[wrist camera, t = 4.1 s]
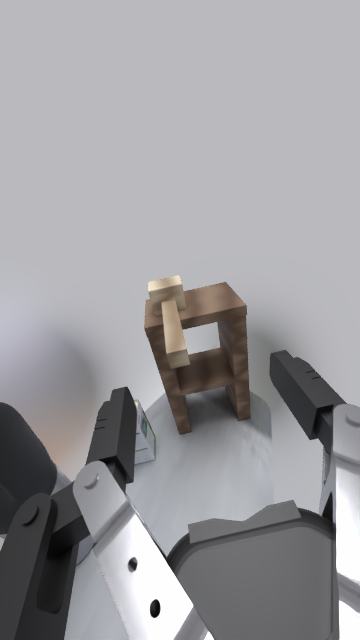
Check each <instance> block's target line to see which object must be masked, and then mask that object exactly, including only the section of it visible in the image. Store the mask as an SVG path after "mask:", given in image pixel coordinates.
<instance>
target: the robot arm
mask: <svg viewBox="0 0 360 640" xmlns="http://www.w3.org/2000/svg"><path fill="white" fill-rule="evenodd" d="M270 378H271V381H272V383H273V385H274V386H275V388H276V389H277V390H278V392H279V393H280V395H281V397H282V398H283V400H284V401H285V403H286V404H287V406H288V407H289V409H290V411H291V412H292V414H293V415H294V417H295V418H296V419H297V421H298V423H299V424H300V426H301V427H302V428H303V430H304V432H305V433H306V435H307V436H308V438H309V439H310V440H312V439H317V438H318V439H319V440H320V442H321V443H322V444H323V446H324V447H323V471H322V491H321V498H320V507H319V514H317V513H314V512H312V511H309V510H305V509H302V508H297V506H296V504H295V502H294V500H291V501H286V502H282V503H278V504H274V505H269V506H267V507H265V508H264V509H262V510H261V511H259V512H258V513H256V514H255V515H253V516H252V517H250V518H249V519H247V520H245V521H232V520H223V519H210V520H205V521H201V522H197V523H193V524H188V528H189V533H188V534H186V535H185V536H184V537H182V538H181V539H180V540H179V541H178V542H177V543H176V545H175V546H174V547H173V549H172V550H171V551H170V553H169V555H168V556H166V554H165V553H164V551H163V550H162V548H161V547H160V545H159V544H158V542H157V540H156V539H155V537H154V536H153V535H152V533H151V532H150V530H149V528H148V527H147V525H146V524H145V522H144V521H143V519H142V518H141V516H140V514H139V513H138V511H137V510H136V508H135V507H134V505H133V503H132V502H131V500H130V499H129V497H128V496H127V494H126V493H125V489H126V484H127V483H132V482H133V480H134V463H135V446H136V429H137V408H136V404H135V402H134V400H133V398H132V395H131V393H130V391H129V389H128V387H123V388H118V389H114V390H113V391H112V394H111V399H110V401H106V402H104V403H103V405H102V407H101V408H100V410H99V412H98V416H97V420H96V421H97V422H96V424H95V428H94V429H95V431H94V432H93V437H92V441H91V445H90V449H89V453H88V457H87V461H86V465H85V467H84V468H83V469H82V470H81V471H80V472H79V473H78V475H77V477H76V479H75V481H73V482H71V481H70V480H69V479H68V478H67V477H66V475H65V474H64V473H63V472H62V471H61V470H60V469H59V468H58V467H57V466H56V465H55V464H54V463H53V461H52V460H51V459H50V457H49V455H48V453H47V451H46V449H45V447H44V445H43V444H42V443H41V441H40V440H39V439H38V438H37V436H36V435H35V434H34V432H33V431H32V430H31V428H30V427H29V425H28V424H27V423H26V421H25V420H24V419H23V417H22V416H21V415H20V414H19V413H18V412H17V411H16V410H15V409H14V408H13V407H11V406H10V405H8V404H5V403H2V402H0V537H1V538H3V539H5V541H4V543H3V546H2V549H1V551H0V640H64V636H65V630H66V623H67V617H68V611H69V605H70V599H71V593H72V586H73V580H74V574H75V568H76V565H78V564H79V563H80V562H81V561H82V560H83V559H84V558H85V557H86V555H87V554H88V553H89V551H90V550H91V548H92V546H93V550H94V554H95V556H96V559H97V561H98V564H99V566H100V569H101V571H102V573H103V576H104V578H105V581H106V583H107V585H108V588H109V590H110V593H111V595H112V597H113V600H114V602H115V605H116V607H117V609H118V612H119V614H120V617H121V619H122V621H123V624H124V626H125V629H126V631H127V633H128V636H129V638H130V640H360V407H358V406H355V405H351V404H347V403H346V402H345V401H344V400H343V399H342V398H341V397H340V396H339V395H338V394H337V393H336V392H335V391H334V390H333V389H332V388H331V387H330V386H329V384H327V382H326V381H325V380H324V379H323V378H321V376H320V375H319V374H318V373H317V372H315V370H314V369H313V368H312V367H311V366H310V364H308V363H307V362H306V361H304V360H302V359H300V358H298V357H296V358H293V357H292V356H291V355H290V354H289V353H288V352H287V351H286V350H283V351H279V352H274V353H271V355H270ZM93 544H94V545H93Z"/></svg>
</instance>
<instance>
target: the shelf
mask: <svg viewBox="0 0 360 640" xmlns="http://www.w3.org/2000/svg"><path fill="white" fill-rule="evenodd" d="M184 297H185V302H186V307H187V309H185V310H180V311H178V314H179V318H180V322H181V327H182V330H183V329H188V328H192V327H196V326H200V325H205V324H209V323H214V322H217V323H218V330H219V339H220V347H221V348H217V349H212V350H208V351H204V352H199V353H195V354H190V355H188V357H189V361H190V365H186V366H181V367H177V368H173V369H171V368H170V365H169V361H168V358H167V354H166V345H165V334H164V324H163V315H158V316H155V313H154V310H153V306H152V303H151V299H149V300H146V308H145V325H144V328H145V332H146V335H147V337H148V339H149V342H150V345H151V348H152V352H153V354H154V357H155V361H156V364H157V367H158V370H159V373H160V376H161V379H162V382H163V385H164V388H165V391H166V394H167V397H168V401H169V404H170V407H171V410H172V413H173V416H174V419H175V422H176V425H177V428H178V431H179V434H184V433H188V432H191V426H190V421H189V415H188V409H187V403H186V397H185V395H187V394H192V393H196V392H200V391H205V390H209V389H213V388H218V387H222V386H225V387H226V390H227V392H228V395H229V398H230V400H231V403H232V405H233V408H234V410H235V413H236V415H237V418H238V420H239V421H240V420H245V419H249V418H250V396H249V374H248V352H247V332H246V331H247V330H246V315H247V307H246V304H245V303H244V302H243V301H242V300H241V298H240V297H239V296H238V295H237V294H236V293H235V292H234V291H233V290H232V288H231V287H230V286H229V285H228V284H227V283H226V282H224V283H219V284H215V285H210V286H206V287H202V288H197V289H193V290H188V291H184Z"/></svg>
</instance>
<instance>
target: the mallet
mask: <svg viewBox="0 0 360 640" xmlns="http://www.w3.org/2000/svg"><path fill="white" fill-rule="evenodd" d="M148 292H149V295H150V299H151V303H152V306H153V310H154V313H155V316H158V315H163V324H164V334H165V345H166V354H167V358H168V361H169V365H170V368H171V369H173V368H177V367H181V366H186V365H190V361H189V357H188V353H187V348H186V344H185V339H184V336H183V331H182V327H181V322H180V318H179V314H178V311H180V310H185V309H187V307H186V302H185V297H184V292H183V287H182V283H181V280H180V277H179V276H174V277H169V278H165V279H160V280H156V281H151V282H149V287H148Z"/></svg>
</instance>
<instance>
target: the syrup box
mask: <svg viewBox="0 0 360 640" xmlns="http://www.w3.org/2000/svg"><path fill="white" fill-rule="evenodd" d="M134 402H135V404H136V408H137V429H136V446H135V463H134V464H139V463H143V462H147V461H152V460H155V435H154V433H153V430H152V428H151V426H150V424H149V422H148V420H147V417H146V415H145V413H144V411H143V409H142V407H141V404H140V402H139V400H138V399H137V400H134Z"/></svg>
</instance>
